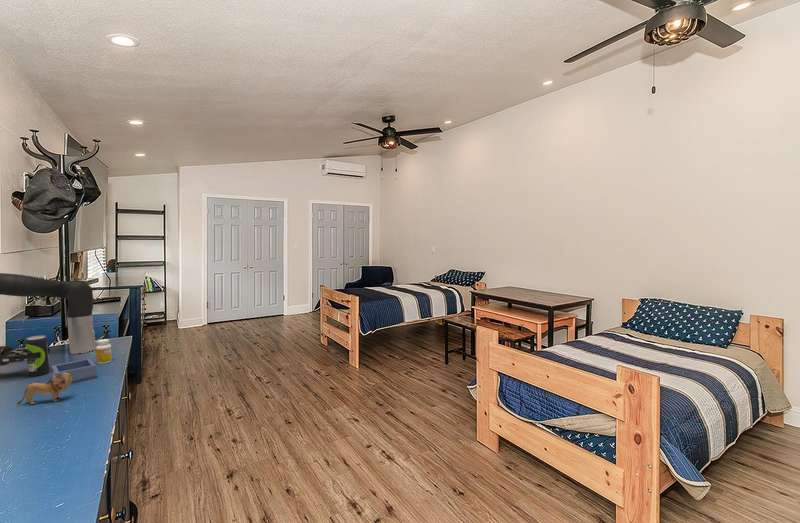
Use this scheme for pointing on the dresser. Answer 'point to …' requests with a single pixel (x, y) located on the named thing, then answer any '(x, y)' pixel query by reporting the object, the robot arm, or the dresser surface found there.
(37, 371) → the beverage can
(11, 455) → the dresser surface
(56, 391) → the lion figurine
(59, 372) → the slate blue open bin
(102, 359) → the supplement bottle
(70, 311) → the robot arm
